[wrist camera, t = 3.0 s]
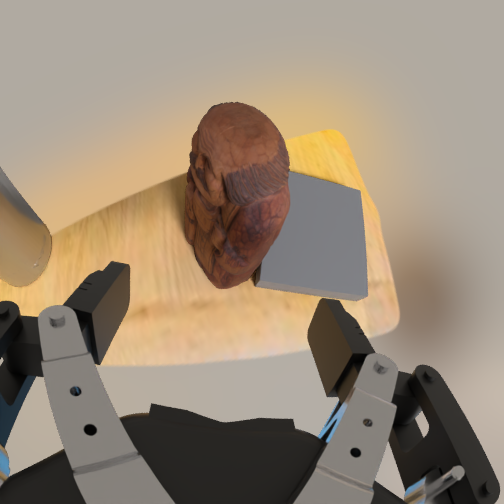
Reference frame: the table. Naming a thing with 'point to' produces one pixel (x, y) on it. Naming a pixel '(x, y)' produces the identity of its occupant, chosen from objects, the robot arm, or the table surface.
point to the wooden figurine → (235, 191)
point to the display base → (319, 243)
